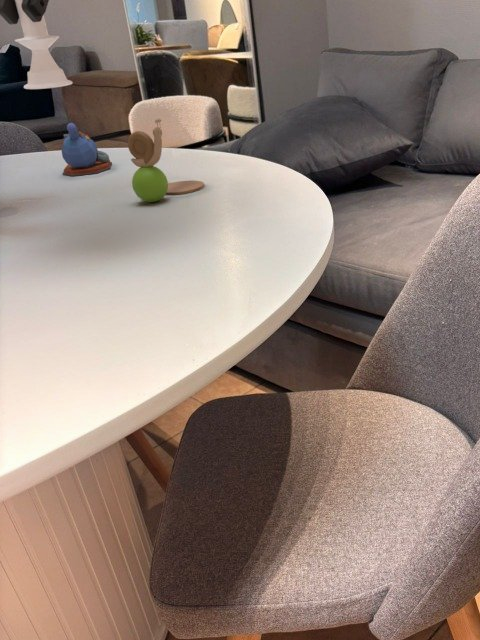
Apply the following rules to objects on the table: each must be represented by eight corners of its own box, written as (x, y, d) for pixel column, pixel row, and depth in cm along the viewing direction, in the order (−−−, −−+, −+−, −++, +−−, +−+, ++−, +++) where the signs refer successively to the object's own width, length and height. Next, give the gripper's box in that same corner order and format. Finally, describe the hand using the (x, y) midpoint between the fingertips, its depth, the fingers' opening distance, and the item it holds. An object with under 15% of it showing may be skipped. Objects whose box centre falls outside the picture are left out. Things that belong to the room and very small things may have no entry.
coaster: (152, 196, 104) (152, 194, 103) (161, 185, 110) (160, 182, 110) (201, 192, 103) (200, 190, 103) (207, 181, 110) (206, 178, 110)
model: (108, 172, 124) (96, 120, 119) (60, 178, 123) (46, 126, 118) (113, 160, 134) (102, 113, 129) (69, 166, 133) (56, 118, 128)
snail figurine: (165, 206, 97) (149, 122, 91) (129, 206, 99) (111, 123, 93) (182, 197, 102) (168, 115, 95) (147, 196, 104) (131, 117, 97)
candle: (82, 84, 72) (53, -45, 66) (38, 90, 69) (4, -44, 63) (57, 82, 75) (28, -40, 69) (15, 88, 72) (-20, -40, 66)
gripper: (-15, -142, 69) (-61, -6, 66) (91, -165, 64) (48, -20, 61) (33, -78, 76) (-7, 48, 73) (132, -95, 71) (94, 39, 68)
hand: (18, 16), depth 67 cm, fingers closed on candle, 2 cm apart
